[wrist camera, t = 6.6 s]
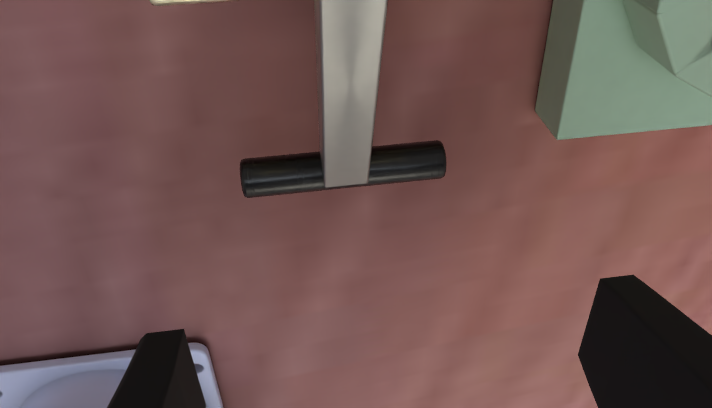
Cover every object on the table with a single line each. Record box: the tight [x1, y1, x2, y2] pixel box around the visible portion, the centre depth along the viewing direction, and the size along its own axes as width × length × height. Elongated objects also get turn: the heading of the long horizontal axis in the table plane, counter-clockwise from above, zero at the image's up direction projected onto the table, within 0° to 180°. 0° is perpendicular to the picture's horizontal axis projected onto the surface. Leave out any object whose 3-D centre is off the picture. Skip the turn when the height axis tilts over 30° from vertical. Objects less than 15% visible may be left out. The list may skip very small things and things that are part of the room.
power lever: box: [240, 0, 446, 198], centre depth 11 cm, size 11×5×2 cm, turn 1°
